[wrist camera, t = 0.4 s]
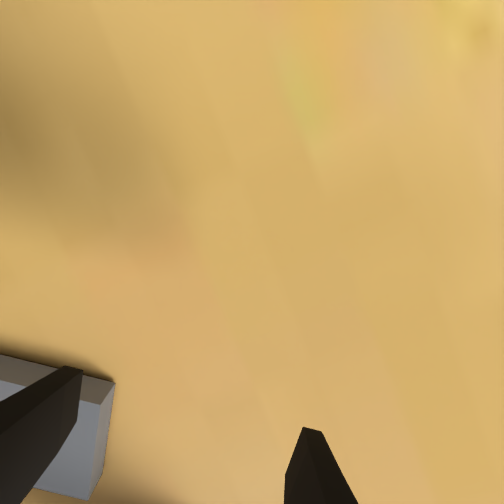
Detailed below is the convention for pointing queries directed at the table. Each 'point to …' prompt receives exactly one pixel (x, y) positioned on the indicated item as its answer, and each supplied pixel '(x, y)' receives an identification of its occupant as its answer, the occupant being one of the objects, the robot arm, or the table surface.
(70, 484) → the slate plate
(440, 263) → the table surface
